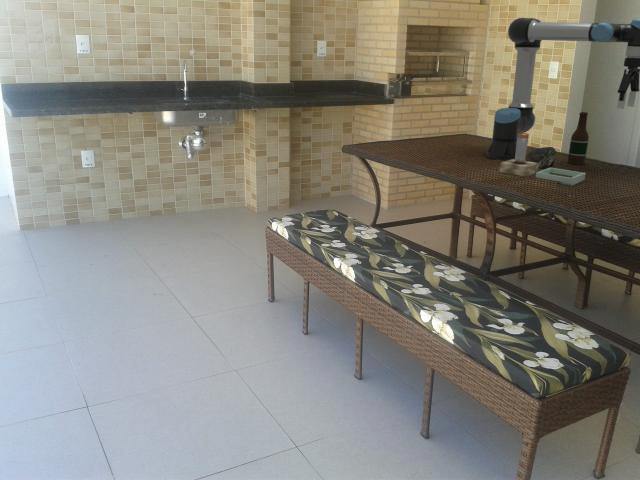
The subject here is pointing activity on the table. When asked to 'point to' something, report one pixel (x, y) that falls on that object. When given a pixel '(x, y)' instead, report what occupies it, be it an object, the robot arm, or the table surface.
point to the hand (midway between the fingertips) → (625, 107)
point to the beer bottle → (579, 142)
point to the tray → (562, 180)
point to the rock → (543, 157)
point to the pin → (521, 148)
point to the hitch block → (519, 168)
